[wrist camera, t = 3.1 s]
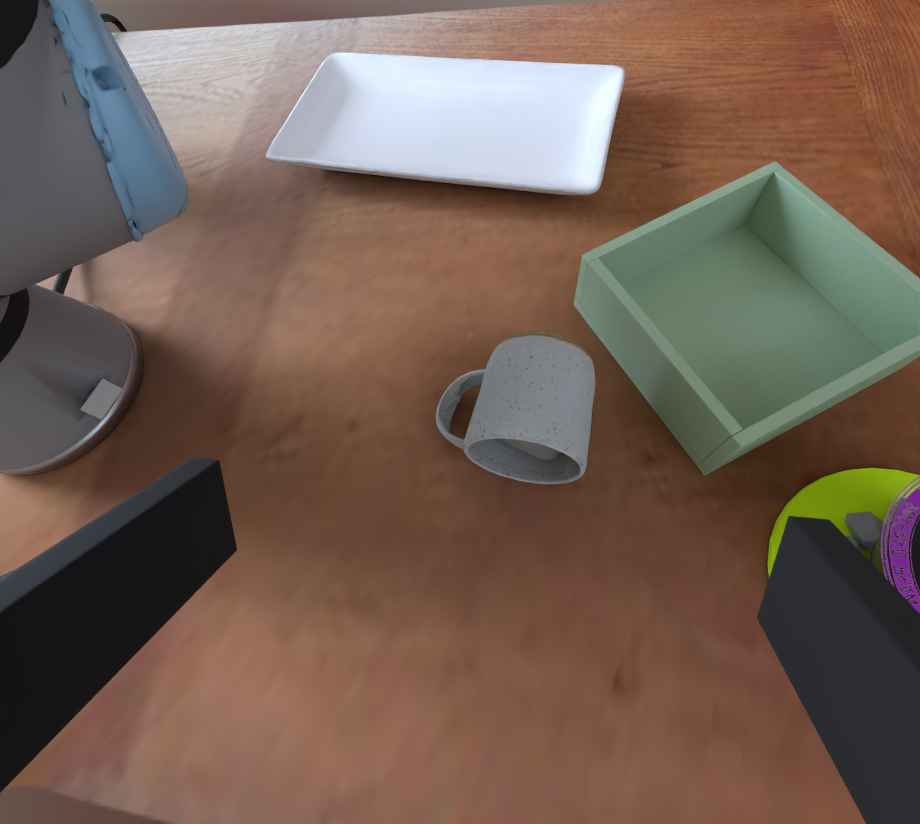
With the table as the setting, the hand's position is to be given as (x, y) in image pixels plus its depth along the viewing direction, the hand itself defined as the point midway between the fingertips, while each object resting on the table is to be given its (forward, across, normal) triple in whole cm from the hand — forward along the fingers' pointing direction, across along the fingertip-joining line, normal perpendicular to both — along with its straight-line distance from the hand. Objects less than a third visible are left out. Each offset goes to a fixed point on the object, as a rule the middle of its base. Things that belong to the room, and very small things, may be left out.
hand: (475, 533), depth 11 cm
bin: (+29, +15, -1) cm, 32 cm away
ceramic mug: (+22, 0, -7) cm, 23 cm away
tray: (+44, -10, +14) cm, 47 cm away
